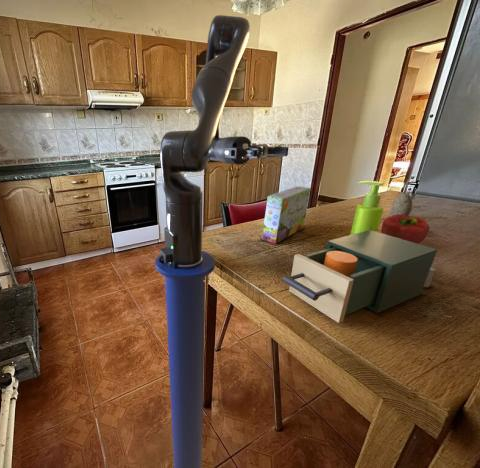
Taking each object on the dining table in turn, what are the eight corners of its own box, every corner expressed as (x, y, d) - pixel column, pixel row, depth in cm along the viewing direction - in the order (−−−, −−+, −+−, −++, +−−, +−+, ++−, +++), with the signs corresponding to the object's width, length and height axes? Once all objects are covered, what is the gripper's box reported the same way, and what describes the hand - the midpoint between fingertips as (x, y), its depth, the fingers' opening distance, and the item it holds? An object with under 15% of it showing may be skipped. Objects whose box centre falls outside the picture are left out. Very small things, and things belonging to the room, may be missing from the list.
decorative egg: (384, 217, 101) (392, 192, 97) (393, 215, 103) (400, 190, 100) (402, 221, 96) (411, 195, 92) (411, 219, 98) (419, 193, 95)
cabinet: (377, 313, 50) (392, 265, 46) (319, 282, 61) (327, 240, 57) (420, 294, 55) (437, 249, 51) (359, 268, 66) (370, 229, 62)
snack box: (277, 245, 81) (283, 198, 75) (261, 240, 85) (265, 195, 79) (304, 227, 94) (311, 187, 88) (289, 224, 98) (295, 185, 92)
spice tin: (336, 303, 50) (345, 264, 47) (312, 289, 54) (320, 253, 51) (354, 296, 52) (364, 259, 49) (330, 284, 56) (338, 248, 53)
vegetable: (429, 256, 70) (442, 221, 67) (382, 250, 75) (392, 217, 71) (414, 241, 80) (424, 210, 76) (373, 237, 84) (381, 207, 80)
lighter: (429, 287, 57) (442, 254, 54) (421, 287, 57) (433, 254, 54) (403, 271, 64) (413, 241, 61) (396, 271, 64) (405, 241, 61)
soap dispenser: (347, 243, 80) (363, 178, 73) (374, 250, 75) (393, 181, 68) (339, 248, 77) (354, 181, 70) (366, 256, 72) (386, 184, 65)
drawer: (319, 331, 45) (328, 288, 41) (271, 296, 54) (276, 259, 51) (385, 303, 51) (398, 264, 48) (331, 276, 61) (339, 242, 58)
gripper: (211, 137, 71) (250, 136, 57) (253, 135, 76) (298, 134, 62) (210, 165, 74) (247, 171, 59) (251, 162, 78) (293, 166, 64)
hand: (273, 152), depth 61 cm, fingers open, 8 cm apart
